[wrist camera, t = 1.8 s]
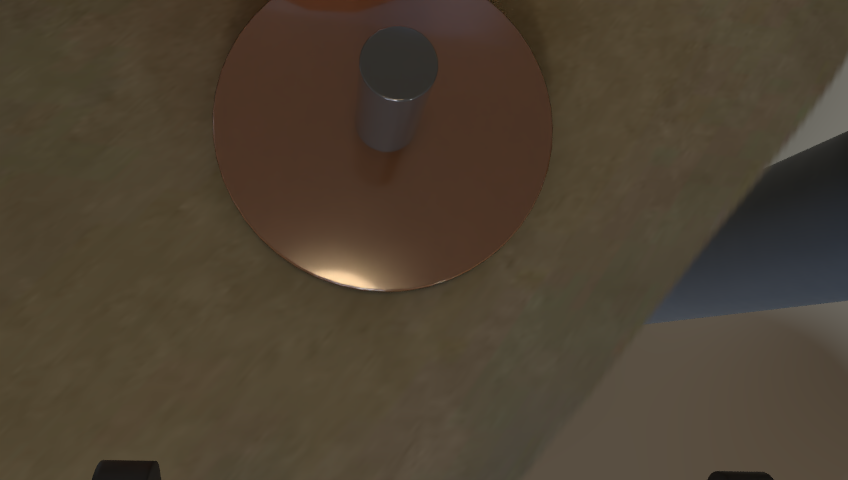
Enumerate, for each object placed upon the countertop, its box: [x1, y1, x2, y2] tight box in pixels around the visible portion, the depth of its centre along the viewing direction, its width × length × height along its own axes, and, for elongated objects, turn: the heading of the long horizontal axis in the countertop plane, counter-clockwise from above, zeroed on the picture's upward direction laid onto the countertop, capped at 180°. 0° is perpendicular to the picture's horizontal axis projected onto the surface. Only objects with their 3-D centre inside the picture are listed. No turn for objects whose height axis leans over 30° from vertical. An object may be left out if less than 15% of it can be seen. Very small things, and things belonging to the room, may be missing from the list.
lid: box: [213, 0, 553, 292], centre depth 30 cm, size 14×14×8 cm
